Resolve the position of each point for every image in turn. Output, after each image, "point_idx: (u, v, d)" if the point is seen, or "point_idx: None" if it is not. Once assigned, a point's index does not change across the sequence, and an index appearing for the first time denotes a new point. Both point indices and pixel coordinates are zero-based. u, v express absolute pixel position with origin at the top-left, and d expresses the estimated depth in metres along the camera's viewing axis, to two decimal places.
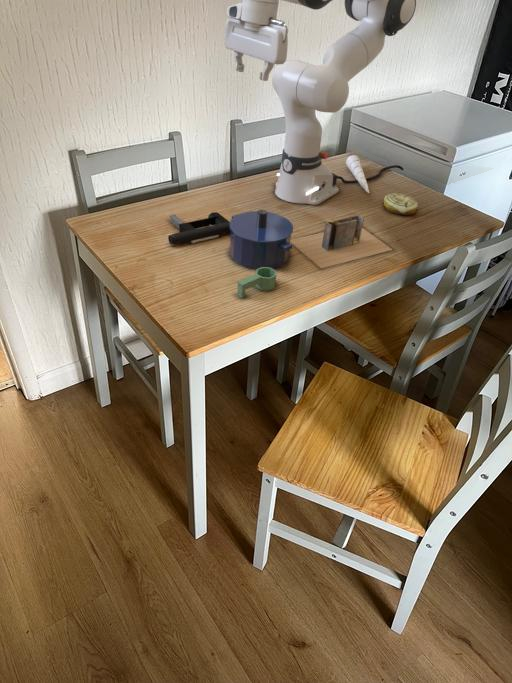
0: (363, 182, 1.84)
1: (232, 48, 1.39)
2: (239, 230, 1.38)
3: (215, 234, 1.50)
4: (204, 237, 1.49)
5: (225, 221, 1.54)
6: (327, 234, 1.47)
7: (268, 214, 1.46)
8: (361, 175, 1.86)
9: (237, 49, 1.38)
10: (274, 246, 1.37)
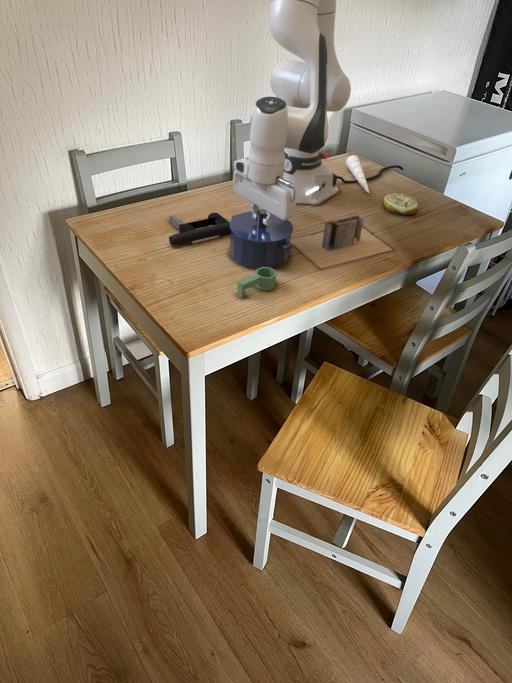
0: (363, 182, 1.84)
1: (241, 196, 1.39)
2: (239, 230, 1.38)
3: (215, 234, 1.50)
4: (205, 237, 1.49)
5: (225, 221, 1.54)
6: (327, 234, 1.47)
7: None
8: (361, 175, 1.86)
9: (246, 198, 1.38)
10: (274, 246, 1.37)
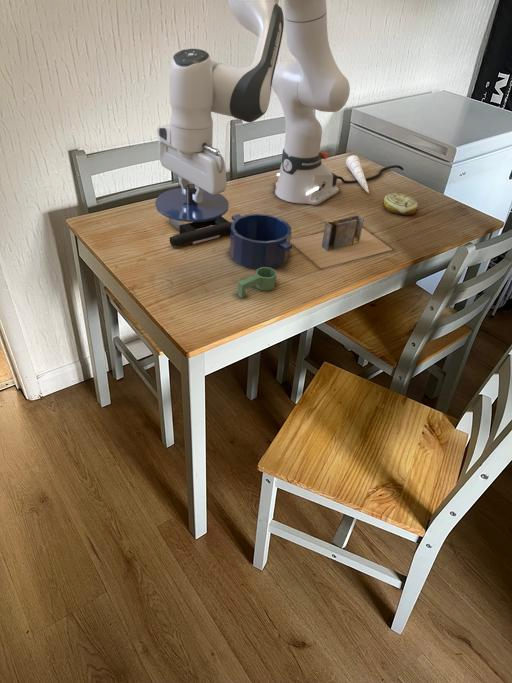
0: (363, 182, 1.84)
1: (168, 168, 1.22)
2: (165, 207, 1.20)
3: (216, 234, 1.50)
4: (205, 238, 1.49)
5: (225, 221, 1.54)
6: (327, 234, 1.47)
7: None
8: (361, 175, 1.86)
9: (173, 171, 1.21)
10: (274, 246, 1.37)
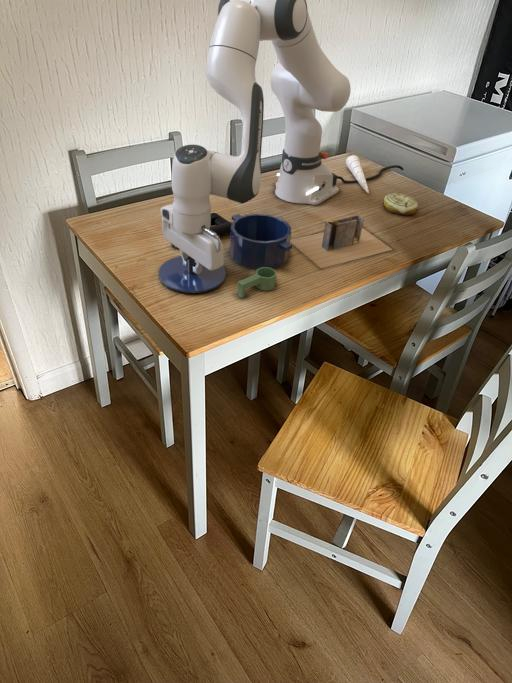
0: (363, 182, 1.84)
1: (170, 242, 1.34)
2: (168, 277, 1.32)
3: None
4: None
5: (225, 221, 1.54)
6: (327, 234, 1.47)
7: None
8: (361, 175, 1.86)
9: (175, 245, 1.32)
10: (274, 246, 1.37)
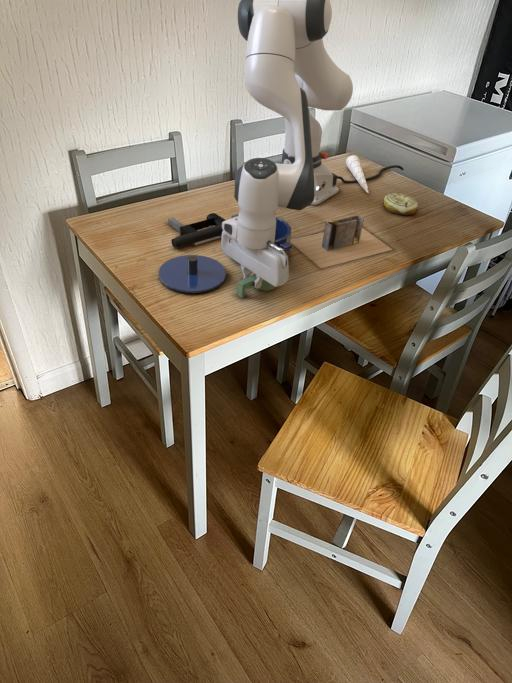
0: (362, 182, 1.84)
1: (230, 256, 1.30)
2: (168, 277, 1.32)
3: (217, 235, 1.50)
4: (206, 239, 1.49)
5: None
6: (327, 234, 1.47)
7: (202, 258, 1.40)
8: (361, 175, 1.86)
9: (235, 259, 1.29)
10: None
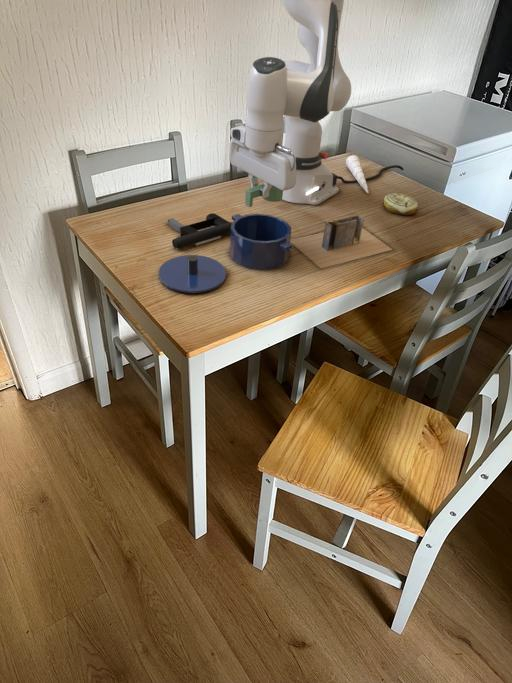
0: (362, 182, 1.84)
1: (238, 166, 1.32)
2: (168, 277, 1.32)
3: (217, 235, 1.50)
4: (207, 239, 1.48)
5: (225, 222, 1.53)
6: (327, 234, 1.47)
7: (202, 258, 1.40)
8: (360, 175, 1.86)
9: (243, 169, 1.31)
10: (274, 246, 1.37)
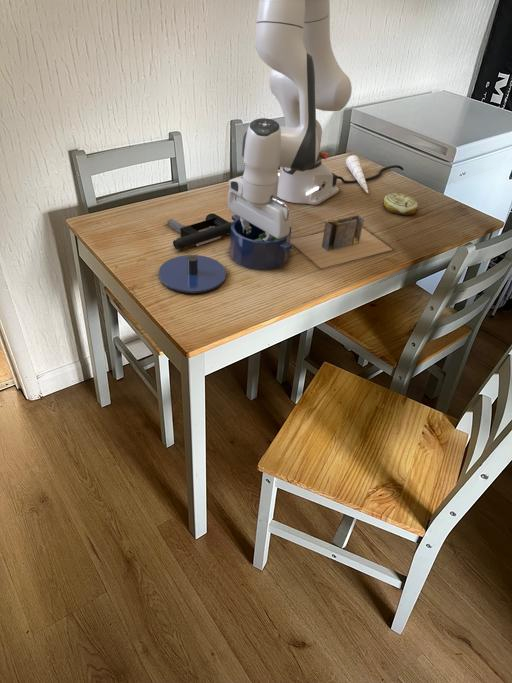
0: (362, 182, 1.84)
1: (236, 213, 1.41)
2: (168, 277, 1.32)
3: (218, 235, 1.50)
4: (208, 239, 1.48)
5: (225, 222, 1.53)
6: (327, 234, 1.47)
7: (202, 258, 1.40)
8: (360, 175, 1.86)
9: (241, 216, 1.40)
10: (274, 246, 1.37)
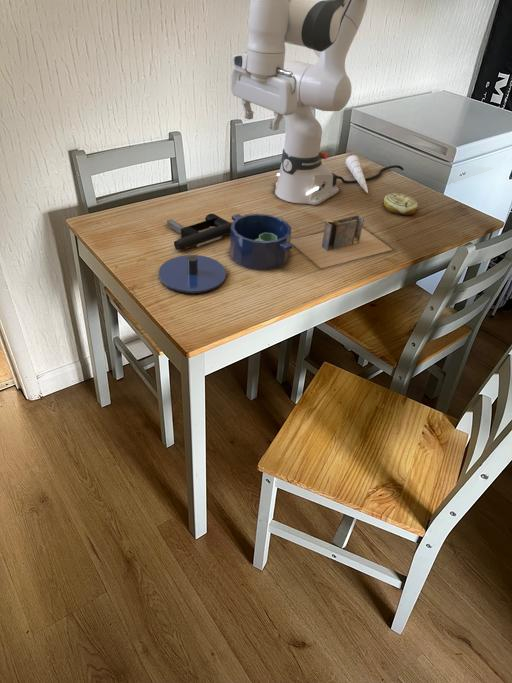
0: (362, 182, 1.84)
1: (239, 96, 1.34)
2: (168, 277, 1.32)
3: (218, 236, 1.50)
4: (208, 240, 1.48)
5: (225, 222, 1.53)
6: (327, 234, 1.47)
7: (202, 258, 1.40)
8: (360, 175, 1.86)
9: (245, 98, 1.33)
10: (274, 246, 1.37)
